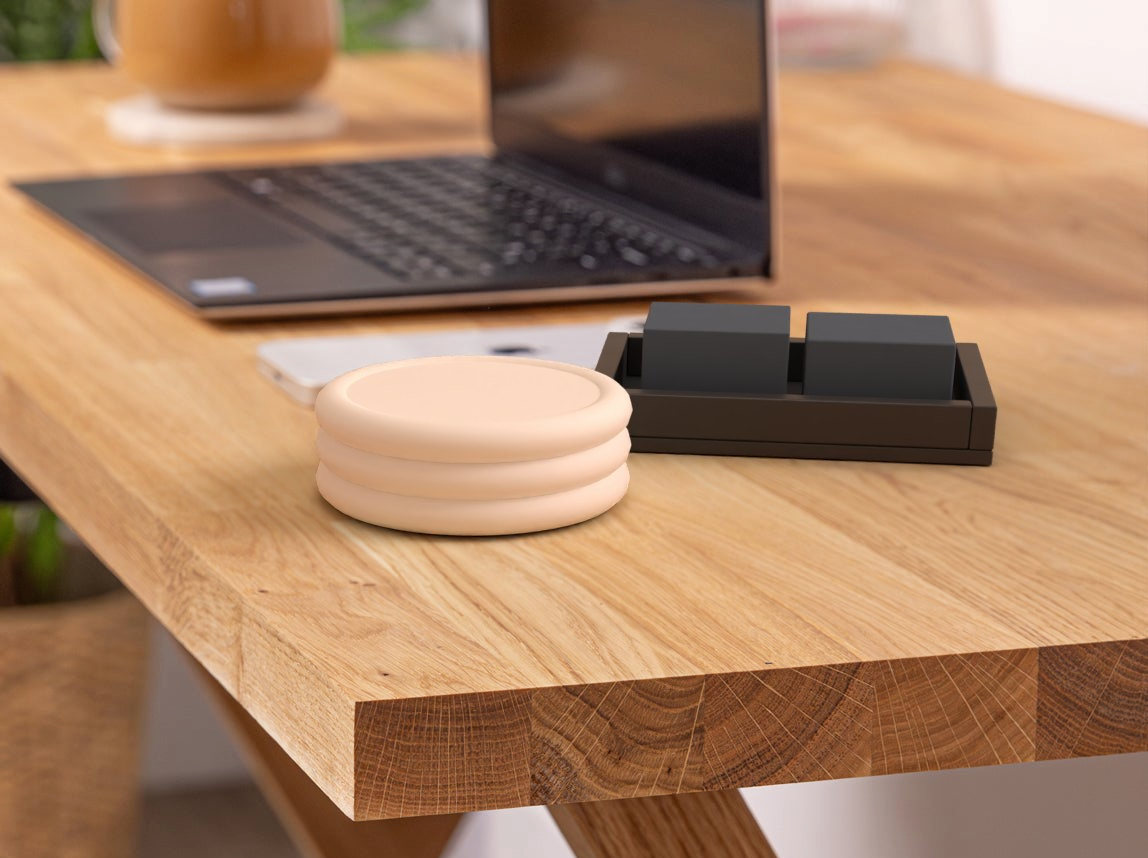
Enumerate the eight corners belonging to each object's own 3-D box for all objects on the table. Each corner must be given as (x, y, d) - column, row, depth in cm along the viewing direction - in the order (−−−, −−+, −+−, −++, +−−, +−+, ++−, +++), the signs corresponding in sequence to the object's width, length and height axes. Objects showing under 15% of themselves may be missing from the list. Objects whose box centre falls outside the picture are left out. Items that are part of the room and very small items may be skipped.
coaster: (545, 440, 78) (547, 340, 77) (685, 517, 70) (690, 406, 68) (273, 472, 75) (270, 367, 73) (386, 557, 66) (385, 441, 65)
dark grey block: (785, 392, 82) (790, 305, 81) (784, 424, 78) (790, 333, 77) (647, 388, 83) (651, 301, 82) (639, 419, 79) (643, 328, 78)
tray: (972, 396, 84) (977, 342, 83) (992, 465, 75) (997, 406, 74) (606, 383, 86) (608, 331, 85) (584, 449, 77) (585, 392, 76)
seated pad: (941, 397, 82) (948, 315, 80) (948, 430, 77) (957, 343, 76) (801, 392, 82) (806, 311, 81) (801, 424, 78) (807, 339, 77)
